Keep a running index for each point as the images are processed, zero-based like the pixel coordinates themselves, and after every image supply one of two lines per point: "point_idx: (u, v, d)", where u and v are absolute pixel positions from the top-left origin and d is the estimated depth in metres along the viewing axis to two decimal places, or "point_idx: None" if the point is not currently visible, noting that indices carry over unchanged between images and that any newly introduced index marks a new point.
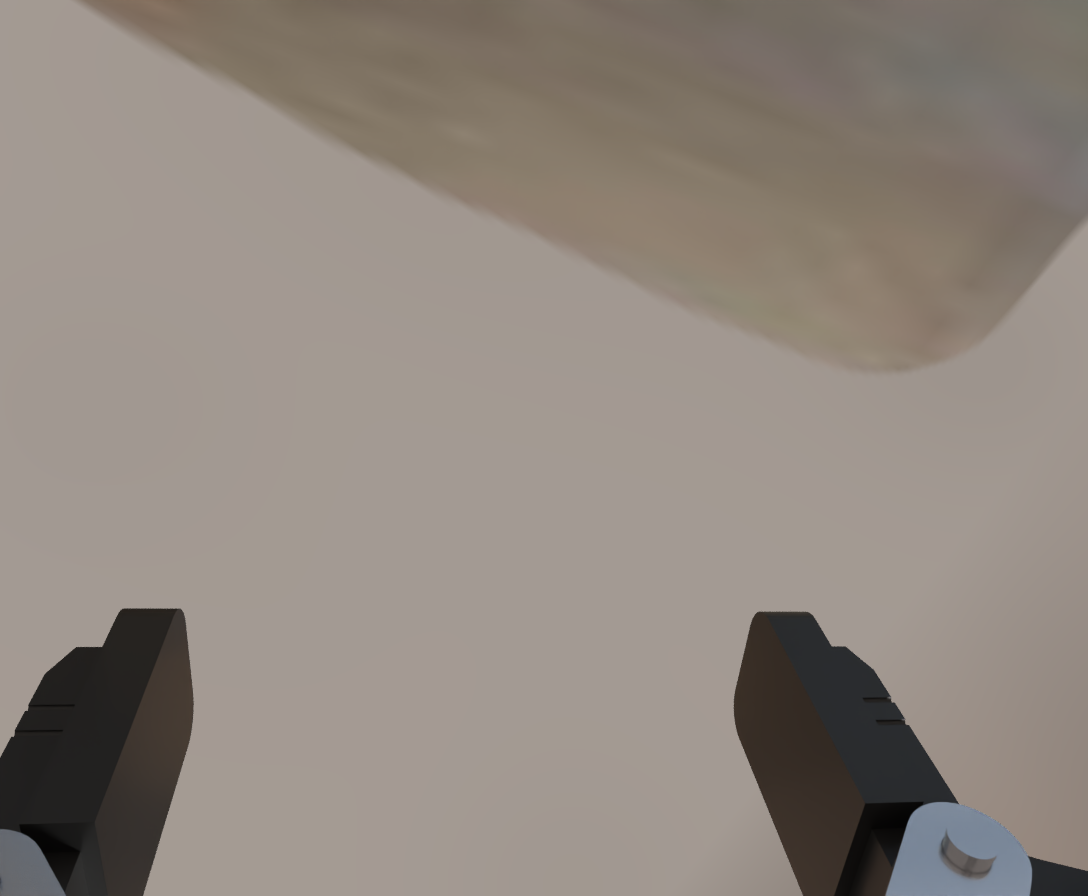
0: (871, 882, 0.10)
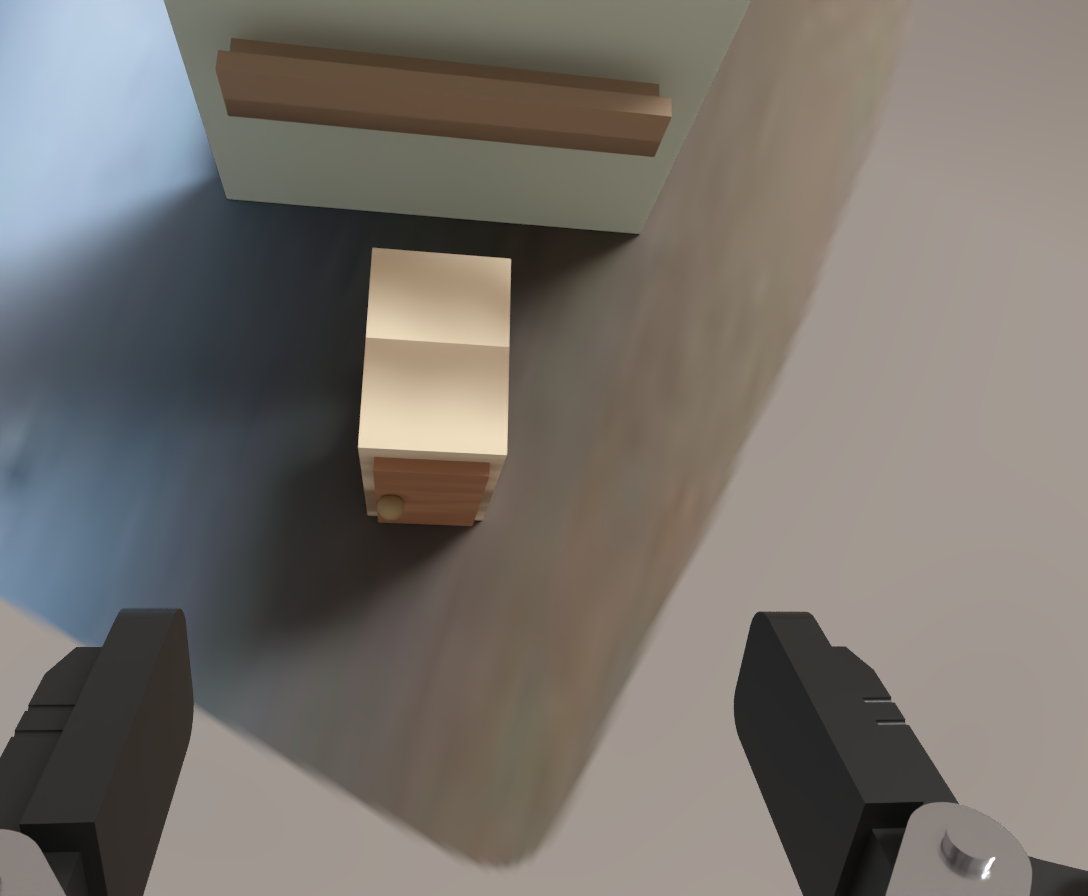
0: (871, 882, 0.10)
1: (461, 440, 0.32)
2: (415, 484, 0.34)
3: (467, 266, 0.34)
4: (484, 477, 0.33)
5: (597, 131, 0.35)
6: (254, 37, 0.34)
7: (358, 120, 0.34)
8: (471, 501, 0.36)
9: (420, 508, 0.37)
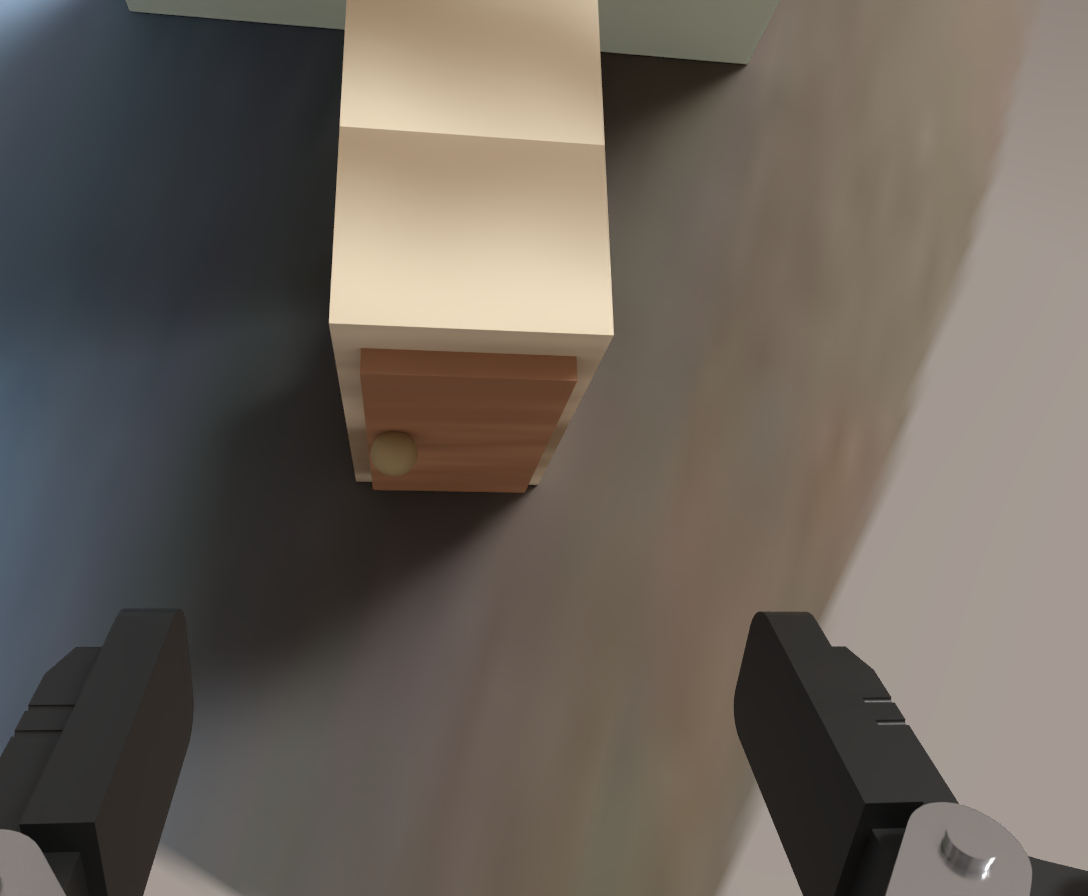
0: (871, 882, 0.10)
1: (526, 309, 0.17)
2: (438, 405, 0.19)
3: (521, 9, 0.19)
4: (567, 384, 0.18)
5: None
6: None
7: None
8: (532, 441, 0.21)
9: (443, 459, 0.22)
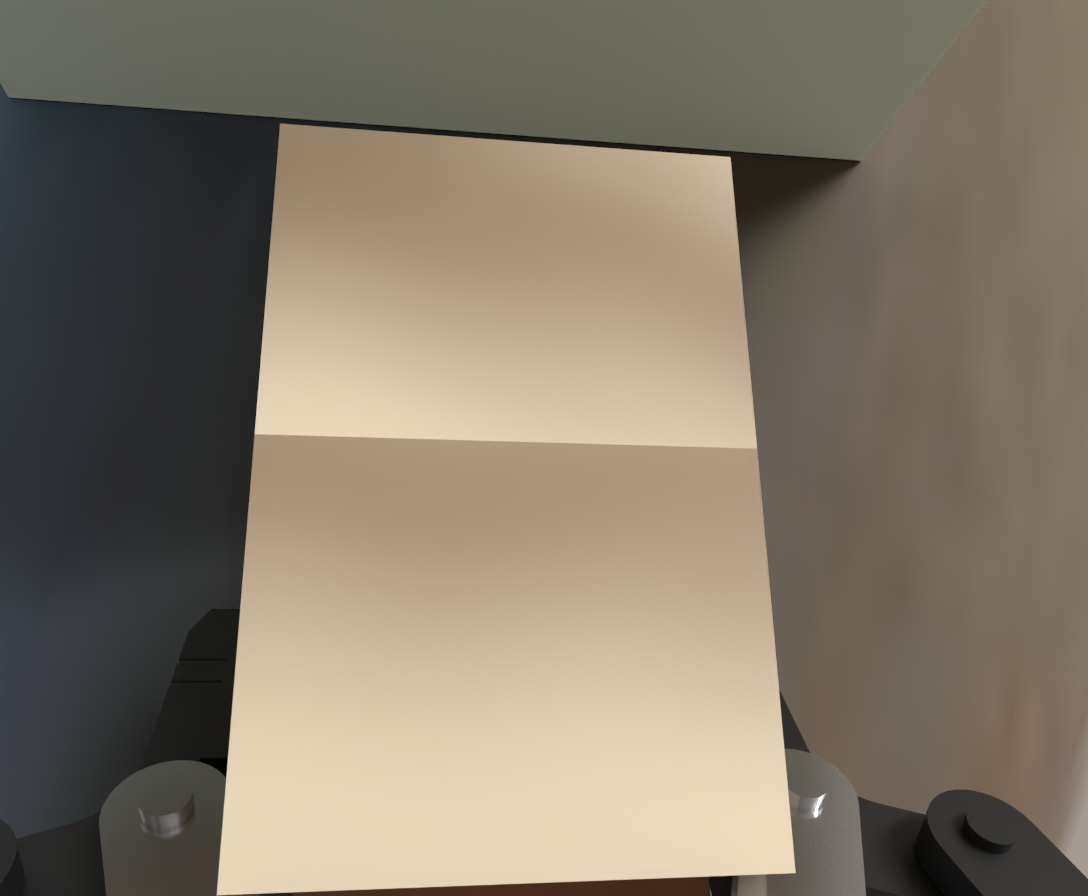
0: None
1: (623, 826, 0.08)
2: None
3: (596, 182, 0.10)
4: None
5: None
6: None
7: None
8: None
9: None
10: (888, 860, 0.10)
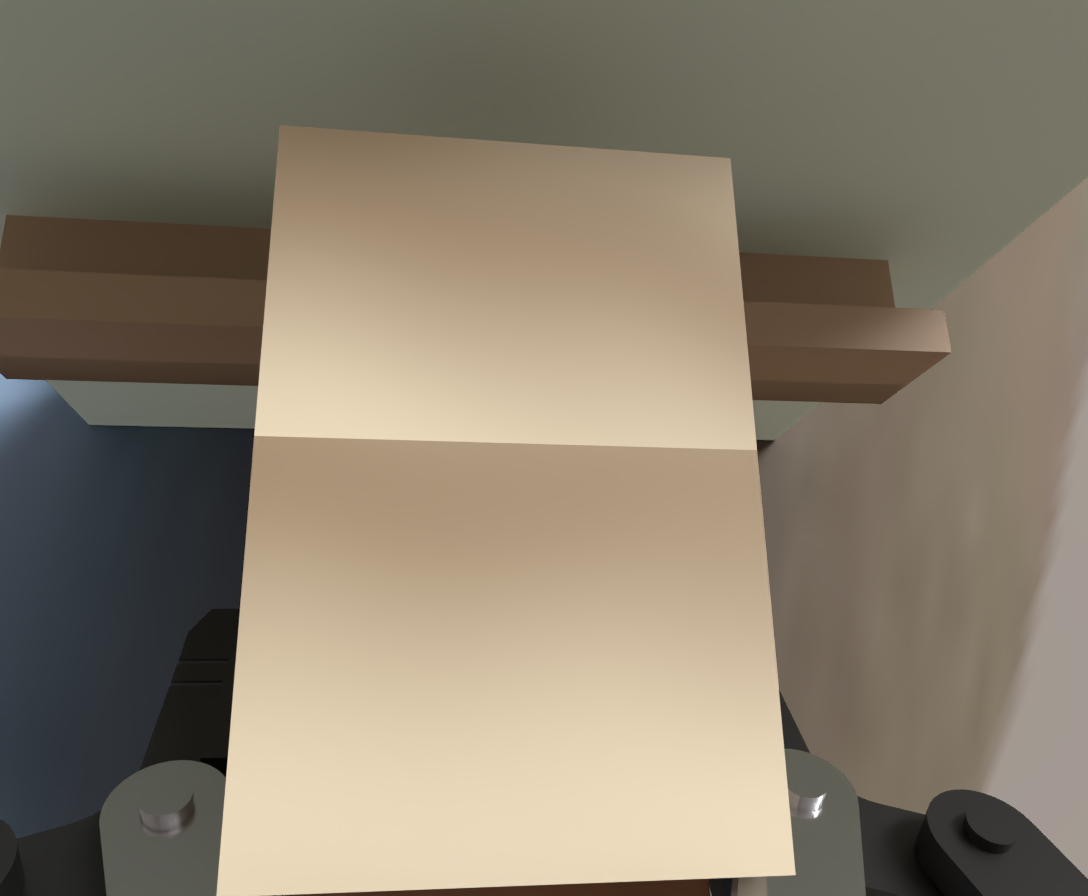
0: None
1: (623, 828, 0.08)
2: None
3: (596, 183, 0.10)
4: None
5: (783, 376, 0.17)
6: (55, 212, 0.16)
7: None
8: None
9: None
10: (888, 860, 0.10)
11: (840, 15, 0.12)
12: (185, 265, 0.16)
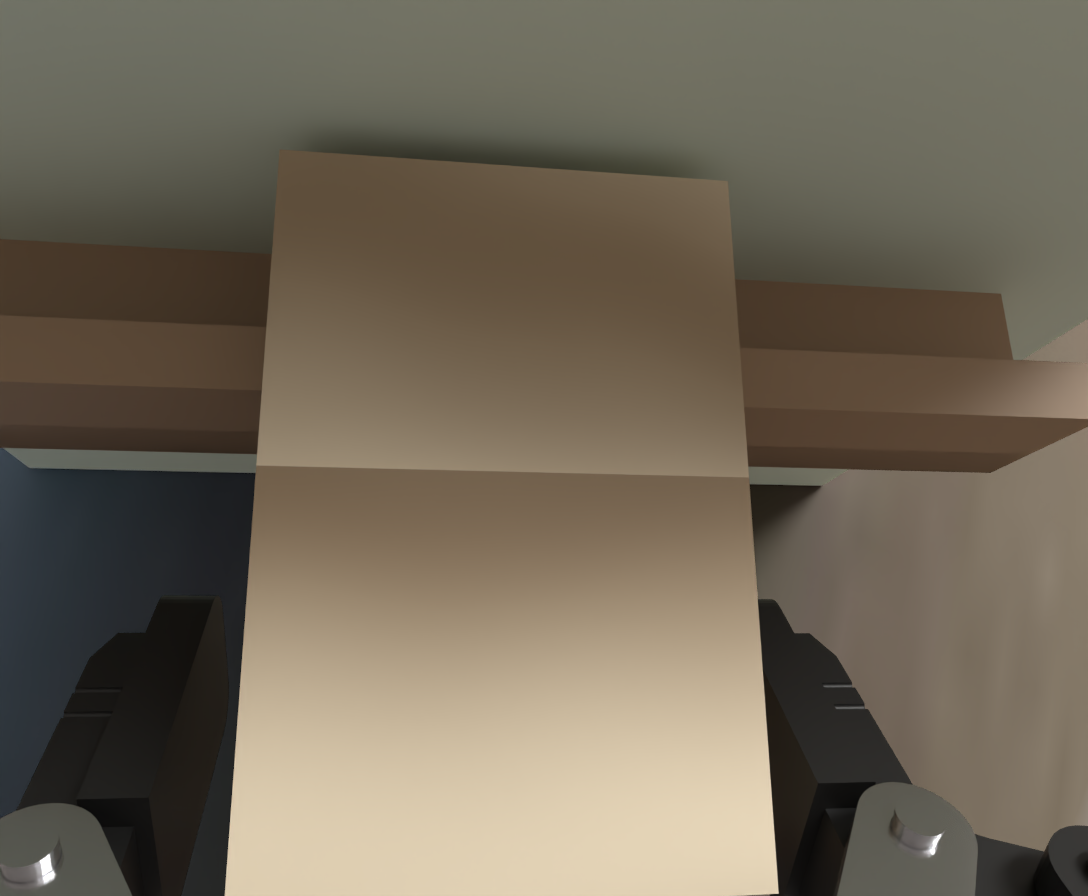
0: (824, 861, 0.10)
1: (613, 848, 0.09)
2: None
3: (594, 207, 0.10)
4: None
5: (878, 444, 0.13)
6: None
7: (238, 443, 0.13)
8: None
9: None
10: None
11: None
12: (110, 299, 0.12)
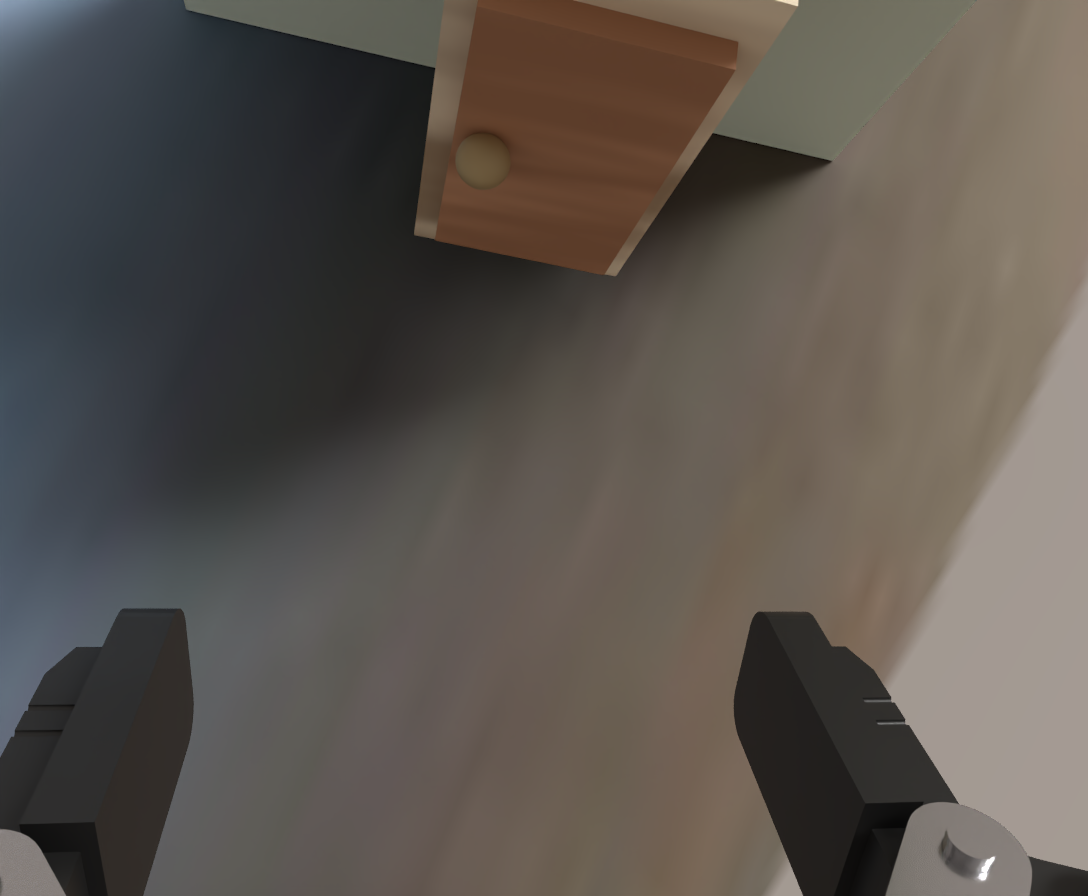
0: (871, 882, 0.10)
1: None
2: (553, 90, 0.15)
3: None
4: (722, 74, 0.14)
5: None
6: None
7: None
8: (643, 182, 0.18)
9: (529, 198, 0.19)
10: None
11: None
12: None
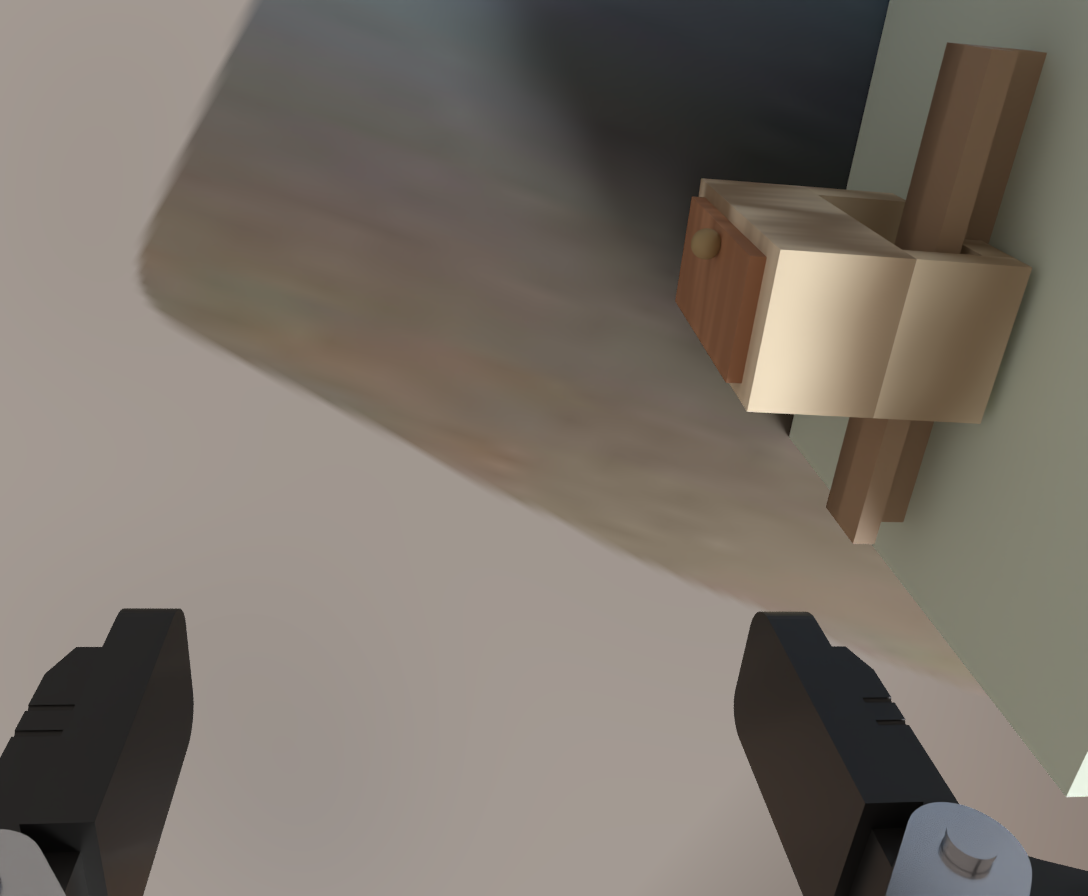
0: (871, 882, 0.10)
1: (771, 364, 0.28)
2: (728, 288, 0.29)
3: (981, 376, 0.28)
4: (725, 376, 0.29)
5: (855, 463, 0.33)
6: (1040, 84, 0.27)
7: (912, 205, 0.29)
8: (701, 330, 0.32)
9: (701, 263, 0.33)
10: None
11: (1029, 520, 0.27)
12: (990, 157, 0.28)
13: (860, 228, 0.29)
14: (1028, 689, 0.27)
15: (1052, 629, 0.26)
